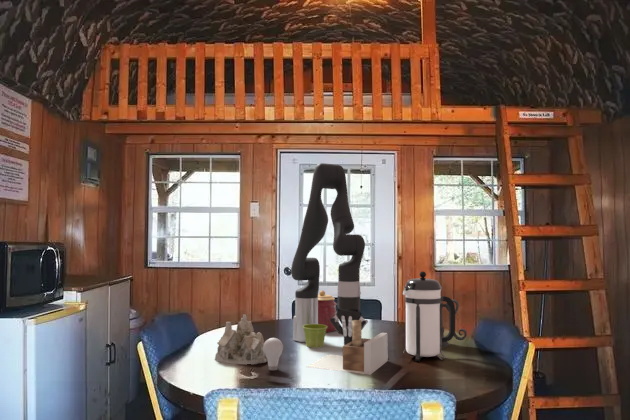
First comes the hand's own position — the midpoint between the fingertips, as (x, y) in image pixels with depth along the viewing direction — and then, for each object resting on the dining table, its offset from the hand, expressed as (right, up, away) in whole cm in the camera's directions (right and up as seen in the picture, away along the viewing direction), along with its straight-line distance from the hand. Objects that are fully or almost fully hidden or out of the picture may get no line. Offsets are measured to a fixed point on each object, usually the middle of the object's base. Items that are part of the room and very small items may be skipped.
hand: (348, 347), depth 170 cm
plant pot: (-11, -7, +22) cm, 25 cm away
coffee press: (+28, -6, +11) cm, 31 cm away
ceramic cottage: (-36, -6, +6) cm, 38 cm away
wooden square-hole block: (+4, -4, -6) cm, 8 cm away
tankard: (+36, -8, +32) cm, 49 cm away
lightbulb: (-24, -5, -12) cm, 27 cm away
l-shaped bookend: (-1, -5, -5) cm, 7 cm away
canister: (-8, -9, +61) cm, 62 cm away
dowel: (+2, -1, -10) cm, 10 cm away
